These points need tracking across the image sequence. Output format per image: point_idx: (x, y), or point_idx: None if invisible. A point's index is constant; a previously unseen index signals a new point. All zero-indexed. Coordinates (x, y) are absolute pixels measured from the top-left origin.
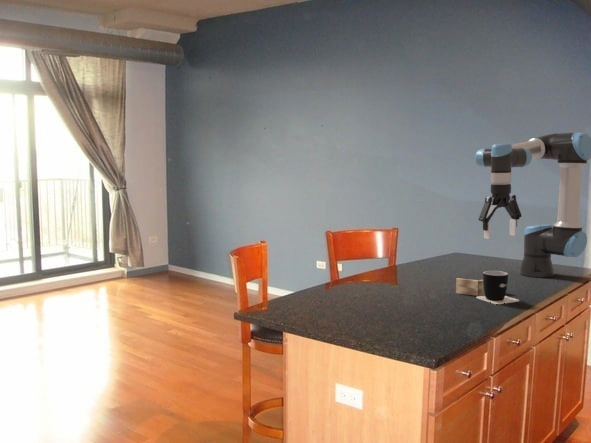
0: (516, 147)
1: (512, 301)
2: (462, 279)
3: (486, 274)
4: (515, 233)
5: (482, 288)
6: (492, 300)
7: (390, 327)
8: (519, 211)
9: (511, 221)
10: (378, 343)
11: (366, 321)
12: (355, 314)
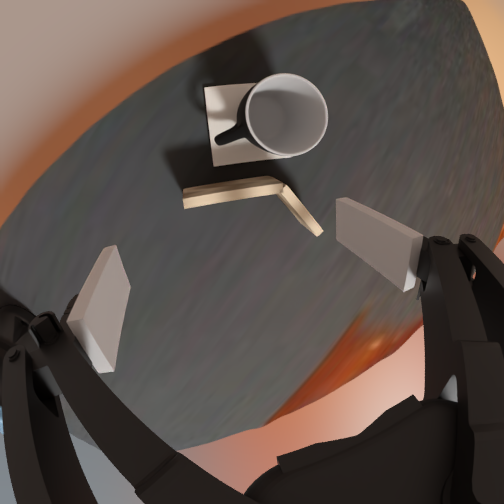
0: None
1: (229, 85)
2: (313, 218)
3: (327, 113)
4: (105, 253)
5: (262, 180)
6: (279, 105)
7: (474, 89)
8: (7, 392)
9: (107, 340)
10: (488, 60)
11: (482, 126)
12: (480, 159)
